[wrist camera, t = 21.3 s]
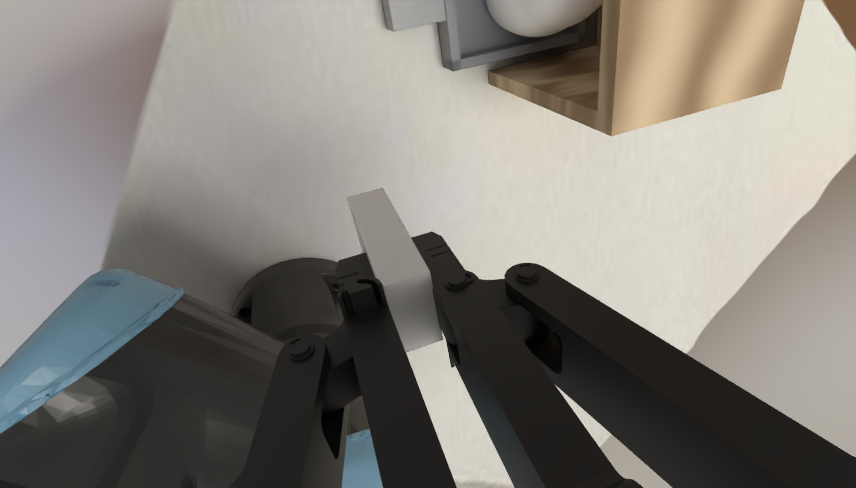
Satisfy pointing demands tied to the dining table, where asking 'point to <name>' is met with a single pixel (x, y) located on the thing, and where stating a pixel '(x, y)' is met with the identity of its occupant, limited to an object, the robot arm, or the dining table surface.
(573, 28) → the tray
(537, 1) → the figurine
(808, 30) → the dining table surface
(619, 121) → the box
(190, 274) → the dining table surface
